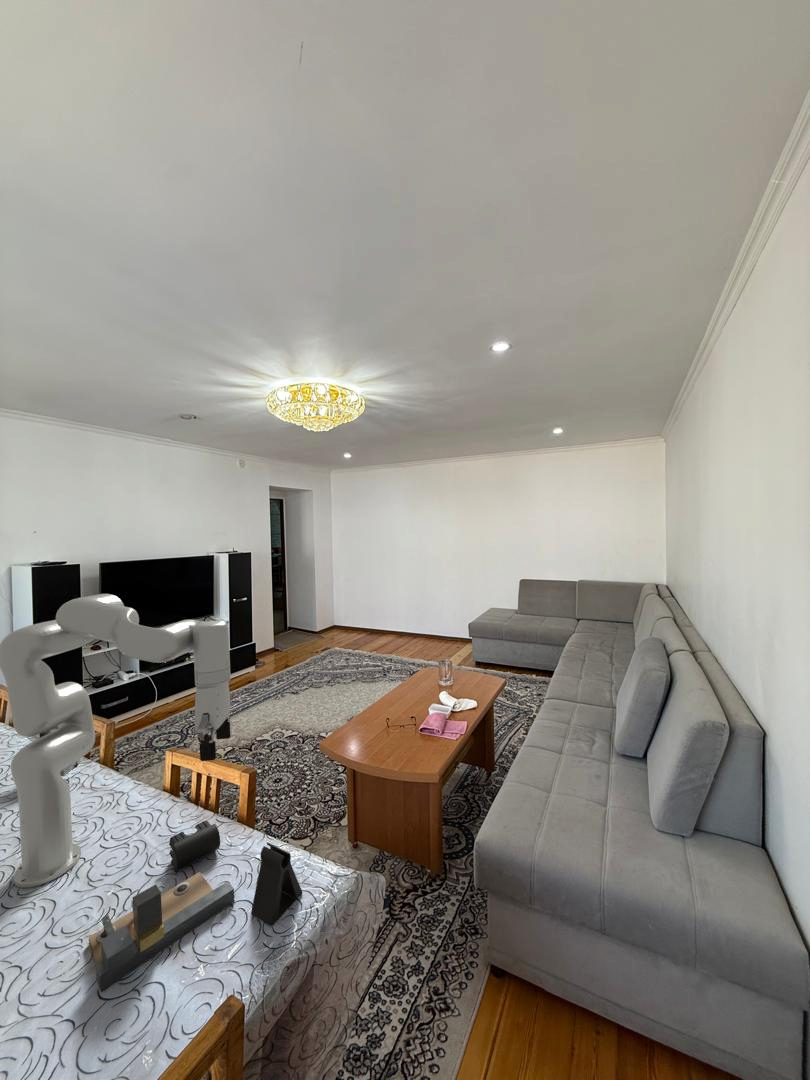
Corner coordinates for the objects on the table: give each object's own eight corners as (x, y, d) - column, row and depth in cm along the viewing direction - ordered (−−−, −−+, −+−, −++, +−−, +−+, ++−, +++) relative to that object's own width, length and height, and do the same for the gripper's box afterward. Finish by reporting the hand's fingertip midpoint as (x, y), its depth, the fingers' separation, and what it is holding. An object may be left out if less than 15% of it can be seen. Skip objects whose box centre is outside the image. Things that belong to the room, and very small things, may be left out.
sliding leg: (123, 918, 86) (121, 874, 86) (145, 905, 89) (143, 863, 89) (140, 958, 78) (138, 909, 77) (164, 942, 81) (162, 895, 80)
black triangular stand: (283, 883, 96) (281, 831, 96) (302, 894, 93) (300, 840, 93) (250, 914, 88) (248, 858, 88) (270, 927, 85) (268, 869, 85)
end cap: (177, 879, 98) (176, 851, 98) (168, 863, 103) (167, 836, 103) (221, 855, 105) (220, 828, 105) (210, 841, 110) (209, 815, 110)
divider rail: (87, 951, 82) (86, 920, 81) (213, 875, 99) (212, 849, 99) (102, 996, 73) (100, 963, 73) (236, 904, 91) (235, 877, 91)
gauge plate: (89, 944, 83) (88, 935, 83) (199, 878, 98) (199, 870, 98) (98, 972, 77) (97, 963, 77) (214, 897, 93) (213, 890, 93)
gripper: (210, 664, 106) (213, 732, 106) (179, 690, 89) (183, 771, 89) (240, 663, 106) (243, 730, 107) (216, 688, 89) (219, 768, 89)
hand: (216, 748), depth 98 cm, fingers open, 9 cm apart
